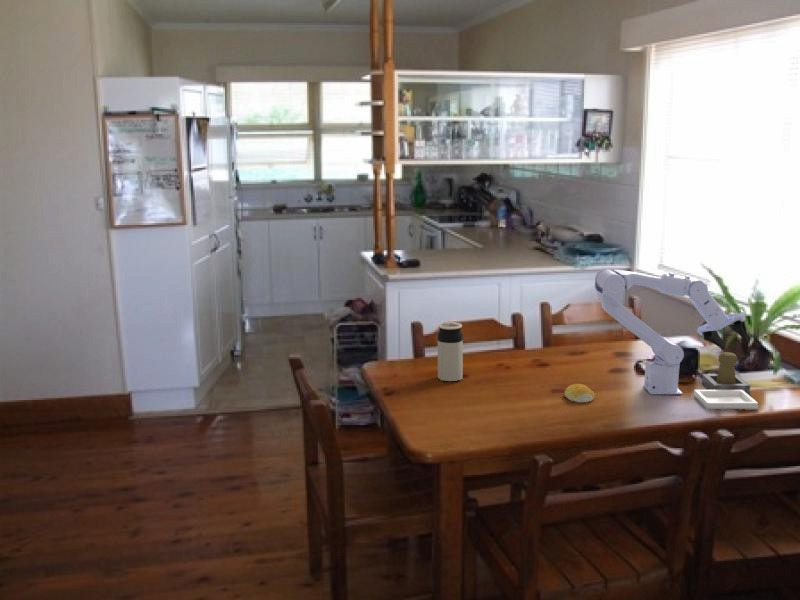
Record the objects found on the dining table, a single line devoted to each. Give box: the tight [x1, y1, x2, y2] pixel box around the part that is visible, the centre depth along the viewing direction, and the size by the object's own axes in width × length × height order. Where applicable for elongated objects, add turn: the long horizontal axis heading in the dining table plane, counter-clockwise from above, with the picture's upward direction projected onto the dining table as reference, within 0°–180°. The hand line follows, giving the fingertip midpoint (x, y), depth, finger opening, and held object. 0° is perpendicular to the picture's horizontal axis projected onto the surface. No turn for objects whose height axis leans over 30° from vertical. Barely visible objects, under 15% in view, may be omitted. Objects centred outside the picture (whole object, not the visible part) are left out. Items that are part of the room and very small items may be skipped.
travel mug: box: [437, 321, 464, 381], centre depth 240 cm, size 8×8×18 cm
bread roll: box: [564, 383, 595, 403], centre depth 223 cm, size 8×9×4 cm
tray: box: [693, 389, 759, 411], centre depth 217 cm, size 14×11×2 cm
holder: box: [701, 373, 751, 394], centre depth 230 cm, size 10×10×2 cm
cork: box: [716, 351, 738, 384], centre depth 229 cm, size 6×6×11 cm
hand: (735, 344), depth 226 cm, fingers open, 7 cm apart
